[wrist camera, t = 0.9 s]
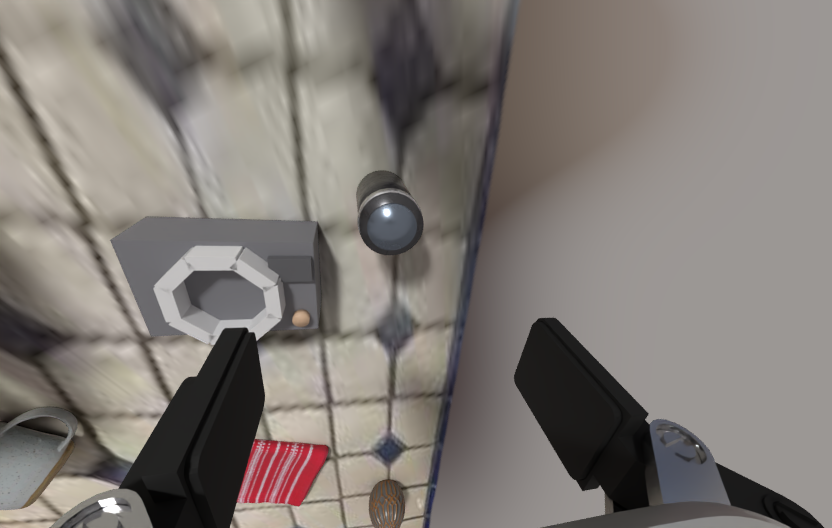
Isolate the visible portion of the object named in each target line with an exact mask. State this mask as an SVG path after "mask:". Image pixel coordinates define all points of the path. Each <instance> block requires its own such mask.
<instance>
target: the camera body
mask: <svg viewBox="0 0 832 528" xmlns="http://www.w3.org/2000/svg"><path fill="white" fill-rule="evenodd" d="M110 241H111V243H112V245H113V248H114V250H115V253H116V255H117V257H118V260H119V262H120V264H121V267H122V269H123V271H124V274H125V276H126V278H127V281H128V283H129V285H130V288H131V290H132V293H133V295H134V297H135V300H136V302H137V304H138V307H139V309H140V311H141V314H142V316H143V318H144V321H145V323H146V326H147V328H148V330H149V333H150V335H151V336H169V335H190V336H192V337H194V338H196V339H198V340H200V341H202V342H204V343H206V344H208V343H209V342H210V343H211V345H215V343H216V341H217V339H218V338H219V336H220V334H221V332H222V331H223V329H225V328H241V327H246V328H248V331H249V332H254V333H255V336H256V341H257V340H258V339H259V338H260V337H262V336H263V335H264V334H265V333H266V332H268V331H274V330H295V329H316V328H318V326H319V317H320V308H321V281H320V261H319V242H318V222H315V221H281V220H247V219H212V218H178V217H145V218H143V219H142V220H140V221H139V222H137V223H136V224H134V225H133V226H131V227H130V228H128V229H127V230H125V231H123V232H122V233H120V234H119V235H117V236H116V237H114V238H113V239H111V240H110Z"/></svg>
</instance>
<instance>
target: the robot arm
mask: <svg viewBox="0 0 832 528" xmlns="http://www.w3.org/2000/svg"><path fill="white" fill-rule="evenodd" d="M514 381H515V384H516V386H517V388H518V389H519V391H520V392H521V394H522V396H523V398H524V399H525V401H526V403H527V404H528V406H529V408H530V409H531V411H532V413H533V415H534V416H535V418H536V420H537V421H538V423H539V425H540V426H541V428H542V430H543V431H544V433H545V435H546V436H547V438H548V440H549V441H550V443H551V445H552V447H553V448H554V450H555V451H556V453H557V455H558V457H559V458H560V460H561V461H562V463H563V465H564V467H565V468H566V470H567V471H568V473H569V475H570V476H571V477H572V478H573V479H574V480H576V481H577V482H578V484H579V486H580V488H581V489H582V491H585V490H590V489H596V488H598V487H599V485H601V487H602V489H603V490H604V492H605V515H601V516H596V517H591V518H586V519H581V520H577V521H571V522H567V523H562V524H557V525H552V526H547V527H542V528H824V527H823V526H822V525H821V524H820V523H819V522H818V521H817V520H816V519H815V518H814V517H813V516H812V515H811V514H810V513H808V512H807V511H806V510H805V509H803V508H802V507H800V506H799V505H797V504H796V503H794V502H793V501H791V500H789V499H787V498H786V497H784V496H782V495H780V494H778V493H776V492H774V491H772V490H770V489H768V488H766V487H764V486H762V485H760V484H758V483H756V482H754V481H752V480H750V479H748V478H746V477H743V476H742V475H740V474H738V473H736V472H734V471H732V470H730V469H728V468H726V467H724V466H722V465H720V464H718V463H716V462H715V461H714V458H713V456H712V454H711V452H710V450H709V449H708V448H707V447H706V445H705V444H704V443H703V442H702V441H701V440H700V439H699V438H698V437H697V436H695V435H694V434H693V433H692V432H690V431H689V430H687V429H686V428H684V427H682V426H680V425H678V424H676V423H674V422H671V421H668V420H664V419H656V420H653V421H652V422H651V423H650V425H649V424H648V423H647V422H646V421H645V419H646V417H647V416H648V413H647V412H646V411H645V410H644V409H643V407H642V406H641V405H640V404H639V403H638V402H637V401H636V400H635V399H634V398H633V397H632V396H631V395H630V394H629V393H628V392H627V391H626V390H625V389H624V388H623V387H622V386H621V385H620V384H619V383H618V382H617V381H616V380H615V379H614V377H613V376H611V374H610V373H609V372H608V371H607V370H606V369H605V368H604V367H603V366H602V365H601V364H600V363H599V362H598V361H597V360H596V359H595V358H594V357H593V356H592V355H591V354H590V353H589V352H588V351H587V350H586V349H585V348H584V347H583V345H581V343H579V341H578V340H577V339H576V338H575V337H574V336H573V335H572V334H571V333H570V332H569V331H568V330H567V329H566V328H565V327H564V326H563V325H562V324H561V323H560V322H559V321H558V320H557V319H556V318H539V319H538V320H537V321H536V322H535V323H534V324H533V325H532V327H531V330H530V333H529V336H528V338H527V341H526V344H525V347H524V350H523V352H522V355H521V358H520V361H519V363H518V366H517V369H516V372H515V375H514ZM264 402H265V392H264V386H263V380H262V373H261V367H260V361H259V354H258V348H257V342H256V336H255V333H254V332H249V331H248V328H246V327H241V328H225V329H223V331H222V332H221V334H220V336H219V338H218V339H217V341H216V343H215V345H214V347H213V348H212V350H211V352H210V354H209V356H208V357H207V359H206V361H205V363H204V365H203V366H202V368H201V370H200V372H199V373H198V375H197V377H188V378H186V379H185V380H184V381H183V383H182V384H181V385H180V387H179V389H178V390H177V392H176V394H175V395H174V397H173V399H172V400H171V402H170V404H169V405H168V407H167V409H166V410H165V412H164V414H163V415H162V417H161V419H160V420H159V422H158V424H157V425H156V427H155V429H154V430H153V432H152V434H151V435H150V437H149V439H148V440H147V442H146V444H145V445H144V447H143V449H142V450H141V452H140V454H139V455H138V457H137V459H136V460H135V462H134V464H133V465H132V467H131V469H130V470H129V472H128V474H127V475H126V477H125V479H124V480H123V482H122V484H121V485H120V487H119V489H113V490H110V491H106V492H103V493H100V494H97V495H95V496H93V497H91V498H89V499H87V500H85V501H83V502H81V503H80V504H78V505H77V506H75V507H74V508H72V509H71V510H70V511H68V512H67V513H65V514H64V515H63V516H62V517H61V518H60V519H58V520H57V521H56V522H55V523H54V524H53V525H52V526H51V527H50V528H230V524H231V521H232V517H233V514H234V510H235V506H236V503H237V499H238V496H239V492H240V489H241V485H242V482H243V478H244V475H245V471H246V467H247V464H248V460H249V457H250V453H251V450H252V446H253V443H254V439H255V436H256V432H257V429H258V425H259V421H260V418H261V414H262V411H263V407H264Z"/></svg>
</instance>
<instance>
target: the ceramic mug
mask: <svg viewBox="0 0 832 528" xmlns="http://www.w3.org/2000/svg"><path fill="white" fill-rule="evenodd" d="M44 416H48V417H53V418H57V419H59V420H61V421H62V422H64V423H65V424H66V426H67V427H68V429H69V432H68V436H67V438H64V437H61V436H57V435H53V434H48V433H43V432H40V431H36V430H32V429H29V428H25V427H21V426H16V424H18V423H20V422H23V421H26V420H29V419H33V418H37V417H44ZM77 425H78V422H77V419H76V417H75V416H74V415H73V414H72V413H71V412H69V411H67V410H64V409H60V408H56V407H42V408H37V409H33V410H30V411H27V412H25V413H23V414H21V415H19V416H18V417H16V418H15V419H13V420H12V421H10V422H9V423H4V422H0V510H13V509H22V508H25V507H28V506H30V505H31V504H33V503H34V502H35V501H36V500H37V499H38V497H39V496H40V495H41V494H42V492H43V491H44V490H45V489H46V487H47V486H48V485H49V484H50V482H51V481H52V480H53V478H54V477H55V476H56V474H57V473H58V472H59V470H60V469H61V468H62V466H63V465H64V463H65V462H66V461H67V459H68V458H69V456H70V454H71V453H72V451H73V449H74V442H73V441H71V438H72V437H73V436H74V434H75V432H76V429H77Z"/></svg>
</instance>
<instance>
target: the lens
mask: <svg viewBox="0 0 832 528" xmlns="http://www.w3.org/2000/svg"><path fill="white" fill-rule="evenodd" d="M356 196H357V208H358V218H357V220H358V229H359V232H360V235H361V237H362V239H363V241H364V243H365V244H366V245H367V246H368V247H369V248H370V249H371V250H373V251H375V252H377V253H380V254H383V255H397V254H401V253H403V252H406V251H407V250H409V249H410V248H412V247H413V246H414V245H415V244H416V243H417V242H418V240H419V239H420V237H421V234H422V231H423V217H422V213H421V210H420V208H419V206H418V204H417V202H416V201H415V200H414V198H413V197H412V196H411V195H410V193H409V191H408V189H407V188H406V186H405V184H404V183H403V181H402V180H401V179H400V178H399V177H398V176H397V175H395V174H394V173H392V172H389V171H375V172H372V173H370V174H368V175H367V176H365V177H364V178H363V179H362V181H361V182H360V184H359V186H358V188H357V194H356Z"/></svg>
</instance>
